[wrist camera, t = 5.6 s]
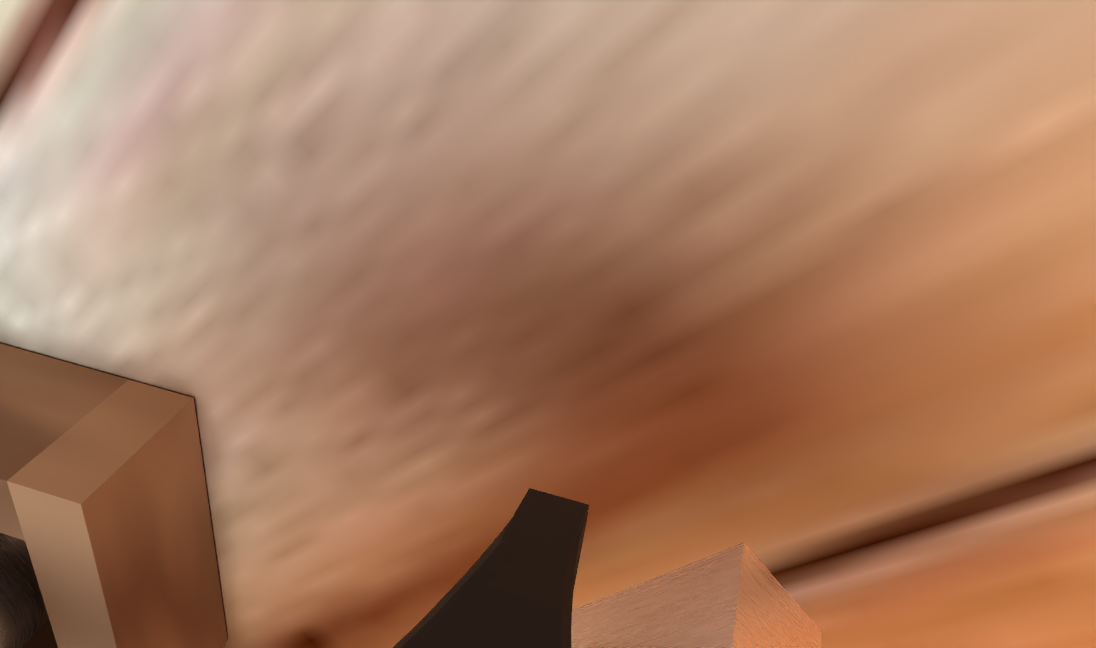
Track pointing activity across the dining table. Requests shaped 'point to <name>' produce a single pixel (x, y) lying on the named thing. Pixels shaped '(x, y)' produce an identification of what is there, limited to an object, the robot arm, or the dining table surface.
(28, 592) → the steel pin
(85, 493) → the socket block
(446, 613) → the robot arm
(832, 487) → the dining table surface
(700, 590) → the bar
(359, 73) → the dining table surface
